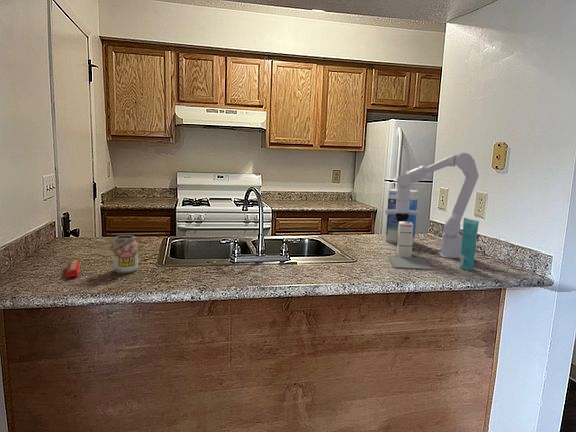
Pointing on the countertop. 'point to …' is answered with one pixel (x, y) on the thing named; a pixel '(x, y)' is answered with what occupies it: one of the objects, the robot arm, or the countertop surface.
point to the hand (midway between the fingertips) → (400, 230)
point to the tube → (468, 244)
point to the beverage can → (125, 254)
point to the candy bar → (73, 269)
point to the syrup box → (405, 239)
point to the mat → (409, 263)
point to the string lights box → (391, 218)
